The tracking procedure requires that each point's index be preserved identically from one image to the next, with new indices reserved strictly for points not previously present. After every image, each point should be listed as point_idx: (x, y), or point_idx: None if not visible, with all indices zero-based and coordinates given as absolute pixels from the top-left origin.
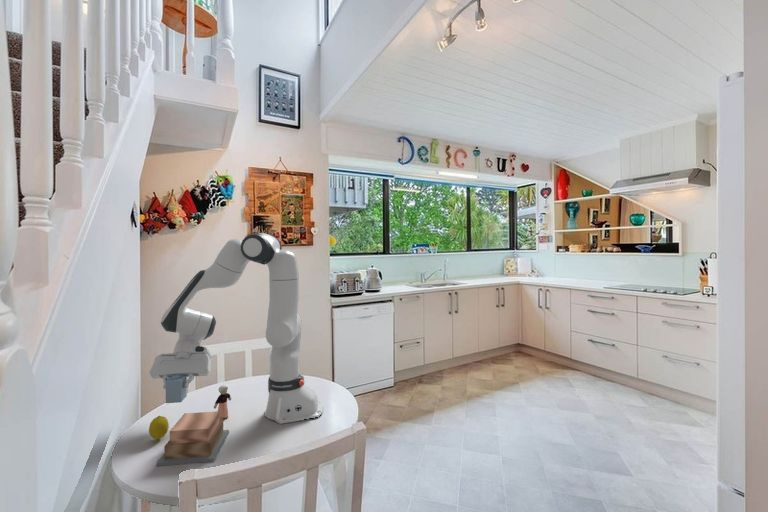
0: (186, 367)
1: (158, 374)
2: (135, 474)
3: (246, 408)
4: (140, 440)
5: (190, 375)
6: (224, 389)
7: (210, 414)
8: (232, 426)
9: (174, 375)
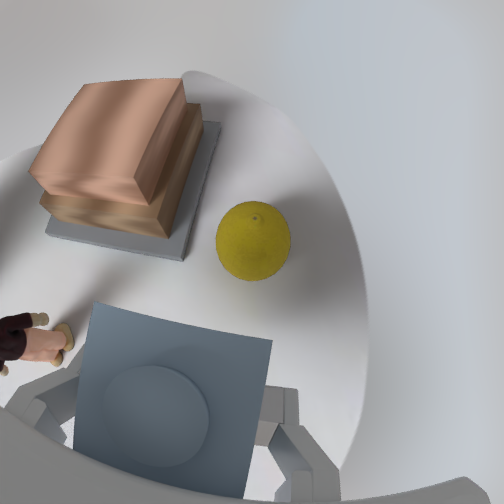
0: (23, 497)
1: (401, 494)
2: (260, 115)
3: (6, 384)
4: (314, 271)
5: (26, 404)
6: None
7: (54, 153)
8: (37, 272)
9: (179, 447)
